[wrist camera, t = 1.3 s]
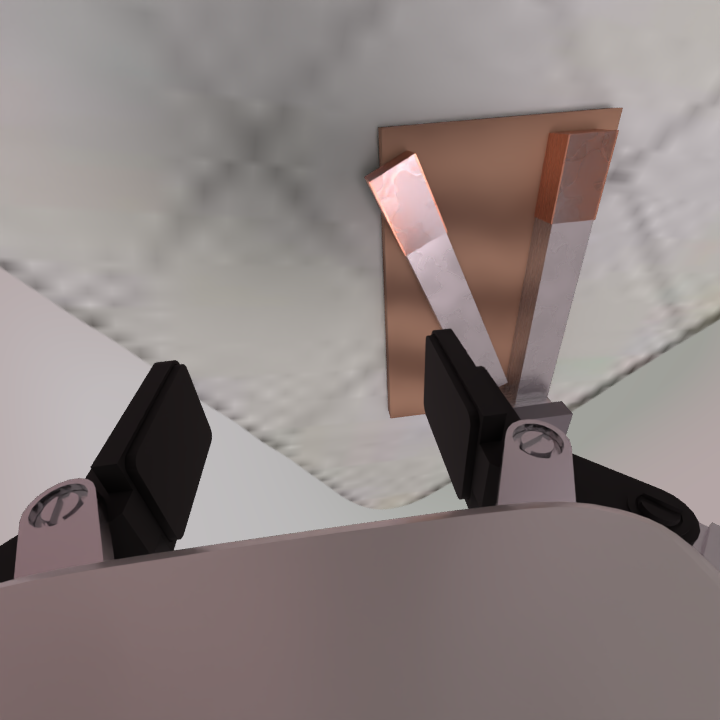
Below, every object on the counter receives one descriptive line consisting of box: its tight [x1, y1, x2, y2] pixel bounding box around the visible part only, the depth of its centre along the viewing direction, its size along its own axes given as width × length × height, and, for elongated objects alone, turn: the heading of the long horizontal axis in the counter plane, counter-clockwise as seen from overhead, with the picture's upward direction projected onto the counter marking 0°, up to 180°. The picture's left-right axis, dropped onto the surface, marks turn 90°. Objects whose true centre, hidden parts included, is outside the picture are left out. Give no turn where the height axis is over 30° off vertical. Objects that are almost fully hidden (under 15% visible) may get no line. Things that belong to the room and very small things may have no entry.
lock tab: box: [513, 401, 573, 435], centre depth 32 cm, size 3×7×2 cm, turn 94°
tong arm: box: [364, 150, 508, 387], centre depth 27 cm, size 19×3×2 cm, turn 29°
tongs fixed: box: [499, 129, 619, 408], centre depth 28 cm, size 22×7×3 cm, turn 4°
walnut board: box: [378, 108, 623, 418], centre depth 30 cm, size 23×15×1 cm, turn 4°
